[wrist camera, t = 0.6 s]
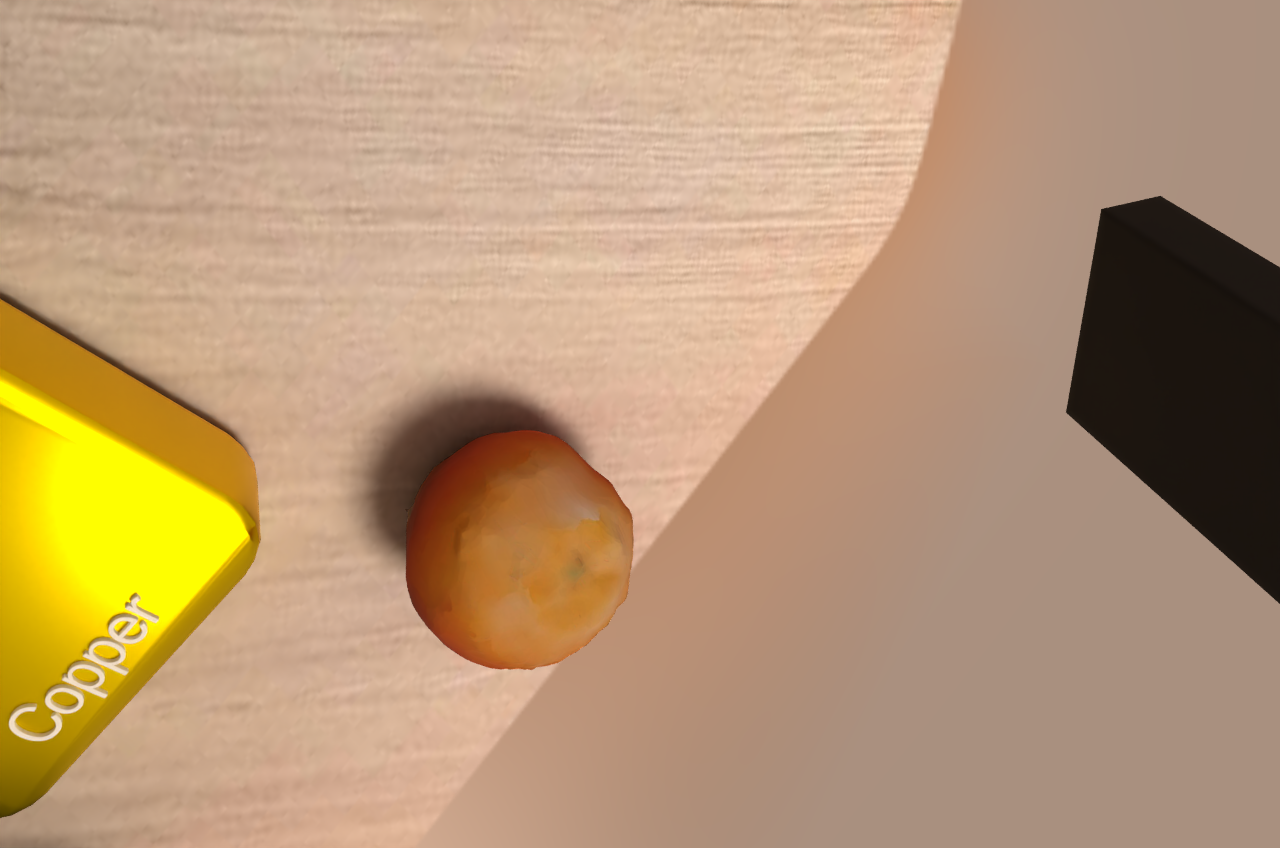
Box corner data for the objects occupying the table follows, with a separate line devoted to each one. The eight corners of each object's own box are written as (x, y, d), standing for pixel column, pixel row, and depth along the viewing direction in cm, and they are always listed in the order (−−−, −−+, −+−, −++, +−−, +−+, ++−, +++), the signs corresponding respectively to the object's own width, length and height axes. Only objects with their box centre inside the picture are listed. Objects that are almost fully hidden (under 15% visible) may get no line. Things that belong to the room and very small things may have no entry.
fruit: (303, 539, 42) (433, 595, 36) (449, 377, 45) (590, 405, 39) (434, 673, 46) (568, 741, 41) (558, 517, 49) (698, 561, 44)
